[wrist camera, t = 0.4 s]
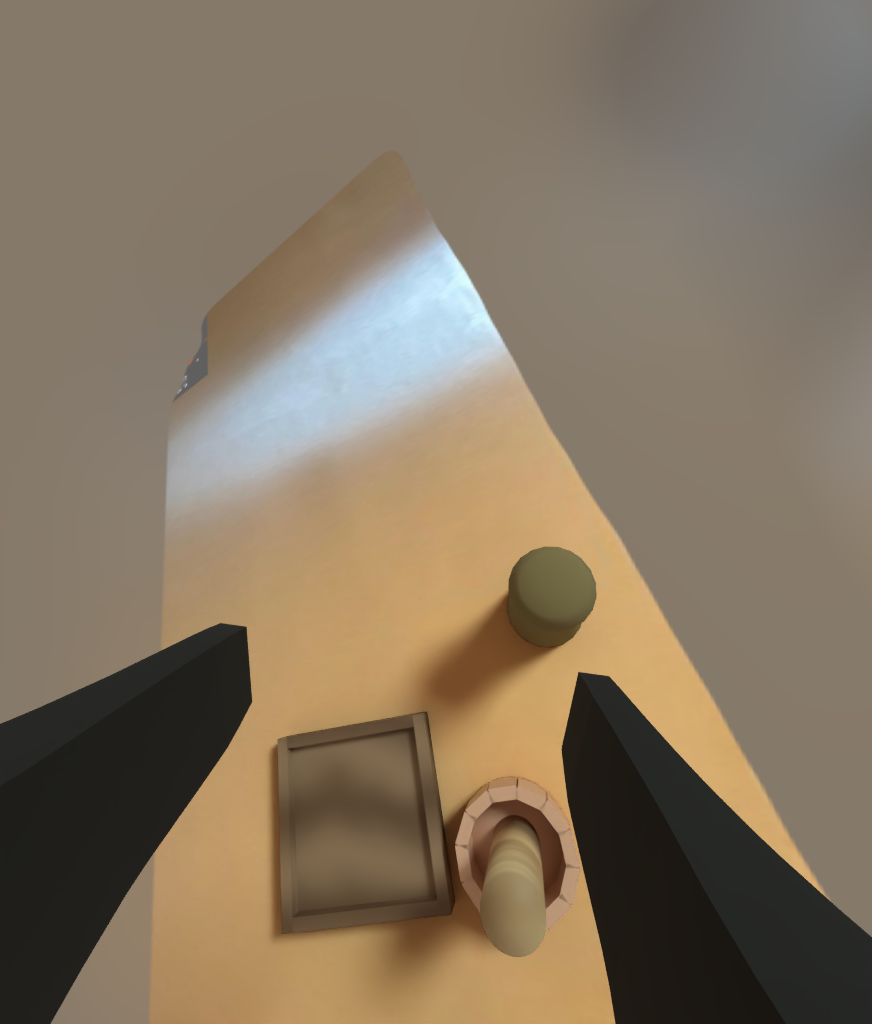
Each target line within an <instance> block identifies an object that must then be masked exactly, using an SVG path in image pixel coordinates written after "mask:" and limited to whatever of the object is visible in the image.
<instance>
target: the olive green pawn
mask: <svg viewBox="0 0 872 1024" xmlns="http://www.w3.org/2000/svg"><path fill="white" fill-rule="evenodd" d="M595 600H596V583H595V580H594V577H593V575H592V572H591V570H590V569H589V567H588V566H587V565H586V564H585V562H584V561H583V560H582V559H581V558H580V557H578V556H577V555H575V554H574V553H573V552H571V551H569V550H565V549H562V548H559V547H542V548H539V549H535V550H532V551H530V552H529V553H527V554H526V555H524V556H523V557H521V558H520V559H519V561H518V562H517V563H516V565H515V566H514V567H513V569H512V572H511V575H510V578H509V599H508V615H509V619H510V622H511V624H512V626H513V627H514V629H515V630H516V632H517V633H518V634H519V635H520V636H521V637H522V638H524V639H525V640H526V641H527V642H530V643H532V644H535V645H537V646H542V647H554V646H558V645H562V644H564V643H565V642H567V641H568V640H570V639H571V638H573V637H574V635H575V634H576V633H577V631H578V630H579V628H580V626H581V623H582V622H583V621H585V619H586V618H587V617H588V615H589V614H590V613H591V611H592V610H593V607H594V603H595Z"/></svg>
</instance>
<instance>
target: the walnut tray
mask: <svg viewBox="0 0 872 1024" xmlns="http://www.w3.org/2000/svg"><path fill="white" fill-rule="evenodd" d="M278 783H279V828H280V874H281V919H282V934H287V933H295V932H304V931H313V930H321V929H330V928H339V927H348V926H356V925H365V924H374V923H382V922H391V921H400V920H408V919H417V918H426V917H435V916H443V915H451V914H452V910H453V907H454V904H455V898H454V891H453V885H452V878H451V871H450V864H449V857H448V851H447V844H446V837H445V830H444V823H443V816H442V810H441V803H440V796H439V789H438V782H437V776H436V769H435V762H434V755H433V748H432V742H431V735H430V728H429V721H428V714H427V712H421V713H415V714H410V715H404V716H399V717H393V718H387V719H382V720H376V721H370V722H365V723H359V724H353V725H348V726H342V727H336V728H331V729H325V730H320V731H314V732H308V733H303V734H297V735H291V736H287V737H283V738H280V739H278Z"/></svg>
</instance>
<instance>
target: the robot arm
mask: <svg viewBox="0 0 872 1024" xmlns="http://www.w3.org/2000/svg"><path fill="white" fill-rule="evenodd" d="M251 703H252V694H251V681H250V668H249V654H248V641H247V628H246V627H244V626H237V625H229V624H222V623H220V624H217V625H215V626H213V627H210V628H208V629H206V630H203V631H201V632H199V633H197V634H195V635H193V636H190V637H188V638H186V639H184V640H182V641H180V642H178V643H176V644H174V645H172V646H170V647H168V648H166V649H164V650H162V651H160V652H158V653H156V654H154V655H151V656H149V657H147V658H145V659H143V660H141V661H139V662H137V663H135V664H133V665H131V666H129V667H127V668H125V669H123V670H121V671H119V672H116V673H114V674H112V675H110V676H108V677H106V678H104V679H102V680H99V681H97V682H95V683H93V684H91V685H89V686H86V687H84V688H82V689H79V690H77V691H75V692H73V693H71V694H68V695H66V696H64V697H62V698H60V699H57V700H55V701H53V702H51V703H49V704H46V705H44V706H42V707H40V708H37V709H35V710H33V711H30V712H28V713H26V714H23V715H21V716H18V717H16V718H14V719H11V720H9V721H6V722H4V723H1V724H0V1024H50V1023H51V1022H52V1020H53V1018H54V1016H55V1015H56V1013H57V1011H58V1009H59V1008H60V1006H61V1004H62V1002H63V1001H64V999H65V997H66V995H67V994H68V992H69V990H70V988H71V987H72V985H73V983H74V981H75V980H76V978H77V976H78V974H79V973H80V971H81V969H82V967H83V966H84V964H85V962H86V961H87V959H88V957H89V956H90V954H91V952H92V950H93V949H94V947H95V946H96V944H97V942H98V941H99V939H100V937H101V936H102V934H103V932H104V931H105V929H106V927H107V925H108V924H109V922H110V920H111V919H112V917H113V915H114V914H115V912H116V910H117V909H118V907H119V905H120V904H121V902H122V900H123V898H124V897H125V895H126V894H127V892H128V891H129V889H130V888H131V886H132V884H133V883H134V882H135V880H136V879H137V877H138V876H139V874H140V872H141V871H142V869H143V868H144V866H145V865H146V863H147V862H148V861H149V859H150V858H151V856H152V855H153V853H154V852H155V851H156V849H157V848H158V846H159V845H160V843H161V842H162V841H163V839H164V838H165V836H166V835H167V834H168V832H169V831H170V829H171V828H172V826H173V825H174V824H175V822H176V821H177V819H178V818H179V816H180V815H181V814H182V812H183V811H184V809H185V808H186V807H187V805H188V804H189V802H190V801H191V799H192V798H193V797H194V795H195V794H196V792H197V791H198V790H199V788H200V787H201V785H202V784H203V782H204V781H205V779H206V778H207V777H208V775H209V774H210V772H211V771H212V769H213V768H214V766H215V765H216V764H217V762H218V761H219V759H220V758H221V756H222V755H223V753H224V752H225V750H226V749H227V747H228V746H229V744H230V742H231V740H232V738H233V737H234V735H235V733H236V731H237V730H238V728H239V726H240V724H241V722H242V720H243V718H244V716H245V714H246V713H247V711H248V709H249V707H250V705H251ZM562 757H563V766H564V774H565V782H566V790H567V798H568V804H569V809H570V813H571V818H572V822H573V827H574V831H575V835H576V840H577V844H578V848H579V853H580V857H581V861H582V866H583V870H584V874H585V878H586V883H587V887H588V891H589V895H590V900H591V904H592V908H593V913H594V917H595V921H596V925H597V930H598V934H599V938H600V943H601V947H602V951H603V956H604V961H605V966H606V971H607V976H608V981H609V986H610V992H611V998H612V1004H613V1010H614V1017H615V1023H616V1024H872V937H871V936H870V935H868V934H867V933H866V932H865V931H864V930H863V929H861V928H860V927H859V926H858V925H857V924H856V923H854V922H853V921H852V920H851V919H850V918H849V917H847V916H846V915H845V914H844V913H843V912H842V911H841V910H839V909H838V908H837V907H836V906H835V905H834V904H833V903H831V902H830V901H829V900H828V899H827V898H826V897H825V896H824V895H823V894H821V893H820V892H819V891H818V890H817V889H816V888H815V887H814V886H813V885H812V884H810V883H809V882H808V881H807V880H806V879H805V878H804V877H803V876H802V875H800V874H799V873H798V872H797V871H796V870H795V869H794V868H793V867H792V866H790V865H789V864H788V863H787V862H786V861H785V860H784V859H783V858H782V857H780V856H779V855H778V854H777V853H776V852H775V851H774V850H773V849H772V848H771V847H770V846H769V845H768V844H767V843H766V842H765V841H764V840H762V839H761V838H760V837H759V836H758V835H757V834H756V833H755V832H754V831H753V830H752V829H751V828H750V827H749V826H748V825H747V824H746V823H745V822H744V821H743V820H742V819H741V818H740V817H739V816H738V815H737V814H736V813H735V812H734V811H733V810H732V809H731V808H730V807H729V806H728V805H727V804H726V803H725V802H724V801H723V800H722V799H721V798H720V797H719V796H718V795H717V794H716V793H715V792H714V791H713V790H712V789H711V788H710V787H709V786H708V785H707V784H706V783H705V782H704V781H703V780H702V779H701V778H700V777H699V775H698V774H697V773H696V772H695V771H694V770H693V769H692V768H691V767H690V766H689V765H688V764H687V763H686V762H685V761H684V760H683V758H682V757H681V756H680V755H679V754H678V753H677V752H676V751H675V750H674V749H673V748H672V746H671V745H670V744H669V743H668V742H667V741H666V740H665V739H664V738H663V737H662V735H661V734H660V733H659V732H658V731H657V730H656V729H655V728H654V726H653V725H652V724H651V723H650V722H649V721H648V720H647V719H646V717H645V716H644V715H643V714H642V713H641V712H640V711H639V709H638V708H637V707H636V706H635V705H634V704H633V703H632V702H631V700H630V699H629V698H628V697H627V696H626V695H625V694H624V692H623V691H622V690H621V689H620V688H619V687H618V686H617V685H616V683H615V682H614V681H613V680H612V679H611V678H610V677H609V676H603V675H596V674H588V673H581V672H579V673H578V677H577V682H576V686H575V691H574V695H573V700H572V704H571V709H570V713H569V718H568V722H567V727H566V731H565V736H564V740H563V745H562Z"/></svg>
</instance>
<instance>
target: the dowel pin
mask: <svg viewBox="0 0 872 1024" xmlns="http://www.w3.org/2000/svg"><path fill="white" fill-rule="evenodd" d="M480 917H481V922H482V925H483V928H484V931H485V933H486V935H487V937H488V938H489V940H490V941H491V942H492V944H493V945H494V946H495V947H496V948H497V949H498V950H500V951H501V952H503V953H505V954H507V955H509V956H513V957H523V956H526V955H529V954H531V953H532V952H534V951H535V950H536V949H537V948H538V947H539V945H540V944H541V942H542V940H543V938H544V935H545V931H546V907H545V896H544V884H543V872H542V860H541V848H540V840H539V836H538V834H537V831H536V829H535V828H534V826H533V825H532V824H531V823H530V822H529V821H528V820H527V819H525V818H523V817H521V816H518V815H510V816H506V817H504V818H503V819H501V820H500V821H499V822H498V824H497V825H496V827H495V830H494V833H493V839H492V844H491V849H490V854H489V859H488V865H487V870H486V875H485V880H484V885H483V891H482V896H481V901H480Z"/></svg>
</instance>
